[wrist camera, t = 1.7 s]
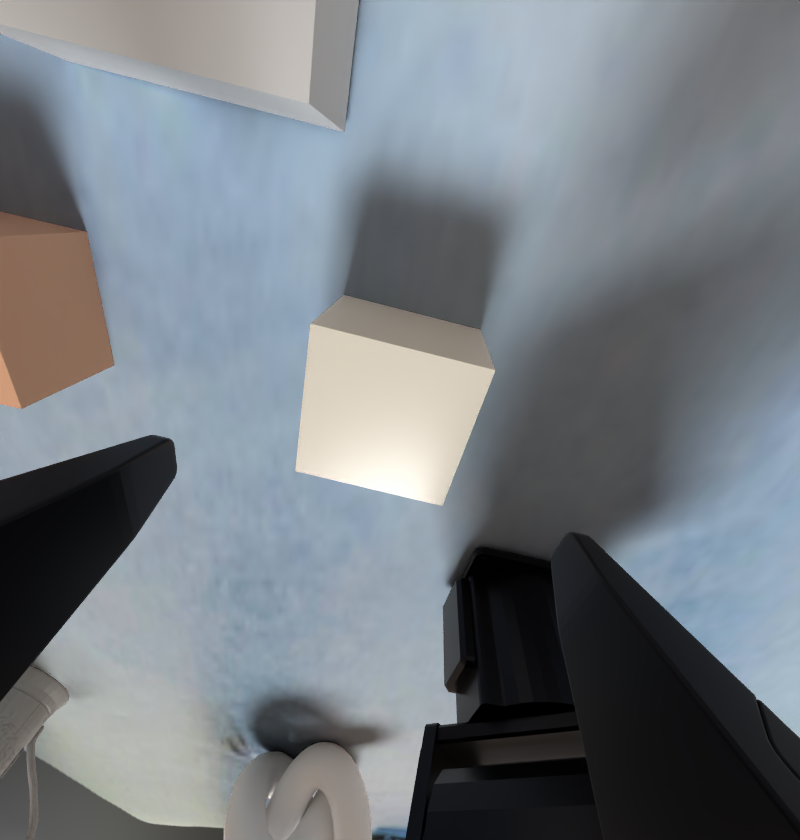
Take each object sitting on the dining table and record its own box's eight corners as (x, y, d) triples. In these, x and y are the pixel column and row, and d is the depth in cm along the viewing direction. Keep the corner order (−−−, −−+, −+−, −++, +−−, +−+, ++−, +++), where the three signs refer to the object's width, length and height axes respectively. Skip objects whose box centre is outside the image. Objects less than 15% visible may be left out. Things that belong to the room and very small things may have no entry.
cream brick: (479, 328, 13) (495, 370, 10) (441, 440, 16) (442, 505, 12) (344, 294, 13) (310, 323, 9) (327, 413, 15) (295, 471, 12)
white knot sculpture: (229, 750, 35) (171, 903, 27) (282, 710, 30) (227, 886, 22) (330, 786, 38) (302, 936, 30) (395, 755, 32) (382, 927, 24)
